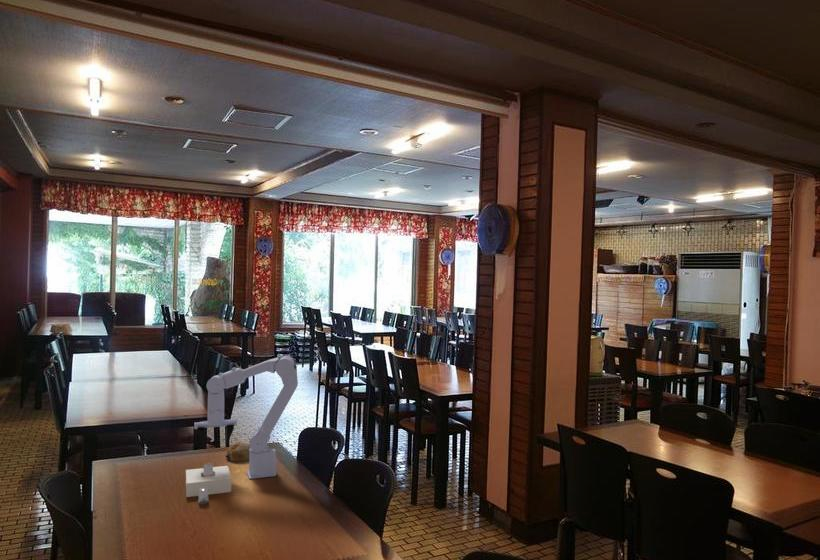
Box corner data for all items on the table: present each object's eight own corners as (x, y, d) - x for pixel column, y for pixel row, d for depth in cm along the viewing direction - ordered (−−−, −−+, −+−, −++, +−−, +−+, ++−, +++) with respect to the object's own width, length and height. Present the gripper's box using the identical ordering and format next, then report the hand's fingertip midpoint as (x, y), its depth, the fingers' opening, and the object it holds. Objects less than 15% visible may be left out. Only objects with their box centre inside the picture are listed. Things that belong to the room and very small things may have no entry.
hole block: (227, 478, 208) (227, 465, 208) (231, 491, 195) (231, 478, 195) (185, 482, 203) (185, 469, 203) (186, 497, 190) (186, 483, 190)
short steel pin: (208, 499, 188) (208, 487, 188) (208, 503, 186) (208, 490, 186) (198, 501, 187) (198, 488, 187) (198, 504, 185) (198, 491, 185)
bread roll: (243, 471, 226) (252, 453, 226) (220, 460, 226) (229, 441, 226) (251, 463, 236) (260, 445, 236) (228, 452, 236) (237, 434, 236)
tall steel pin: (214, 486, 200) (214, 462, 200) (210, 489, 197) (210, 465, 197) (206, 485, 201) (206, 462, 201) (201, 488, 198) (202, 465, 198)
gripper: (235, 405, 217) (235, 442, 217) (194, 408, 212) (193, 445, 212) (237, 409, 210) (237, 447, 210) (194, 412, 205) (194, 451, 205)
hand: (215, 447), depth 211 cm, fingers open, 7 cm apart
